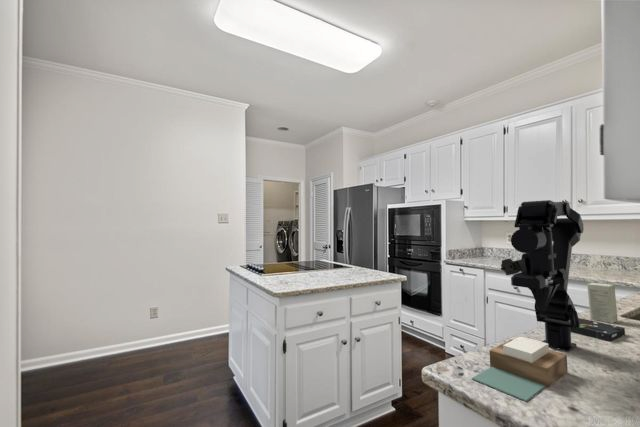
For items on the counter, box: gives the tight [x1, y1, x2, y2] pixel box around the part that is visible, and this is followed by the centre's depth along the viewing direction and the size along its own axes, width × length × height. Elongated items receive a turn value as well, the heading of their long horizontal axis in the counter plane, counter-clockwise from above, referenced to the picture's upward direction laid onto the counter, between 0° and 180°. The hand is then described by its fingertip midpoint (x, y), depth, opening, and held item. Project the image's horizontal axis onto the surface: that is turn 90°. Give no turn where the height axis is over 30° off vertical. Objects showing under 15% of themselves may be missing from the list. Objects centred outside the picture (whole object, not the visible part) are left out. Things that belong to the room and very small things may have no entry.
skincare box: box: [587, 282, 619, 324], centre depth 106 cm, size 6×4×12 cm
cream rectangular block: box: [503, 336, 550, 363], centre depth 73 cm, size 9×6×2 cm, turn 124°
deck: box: [488, 339, 569, 389], centre depth 73 cm, size 11×12×4 cm
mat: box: [471, 366, 546, 403], centre depth 68 cm, size 9×11×1 cm
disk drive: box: [569, 317, 626, 343], centre depth 96 cm, size 10×3×15 cm
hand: (542, 310), depth 79 cm, fingers closed
